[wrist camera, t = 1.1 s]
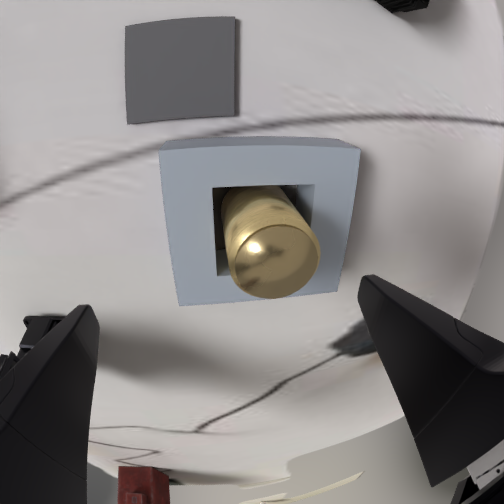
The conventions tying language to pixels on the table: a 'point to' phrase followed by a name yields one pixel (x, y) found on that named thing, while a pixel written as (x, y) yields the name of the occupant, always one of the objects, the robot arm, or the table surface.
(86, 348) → the robot arm
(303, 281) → the gold metal cylinder
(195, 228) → the housing
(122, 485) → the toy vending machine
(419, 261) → the table surface
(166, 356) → the table surface
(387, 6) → the cpu cooler
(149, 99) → the pad
